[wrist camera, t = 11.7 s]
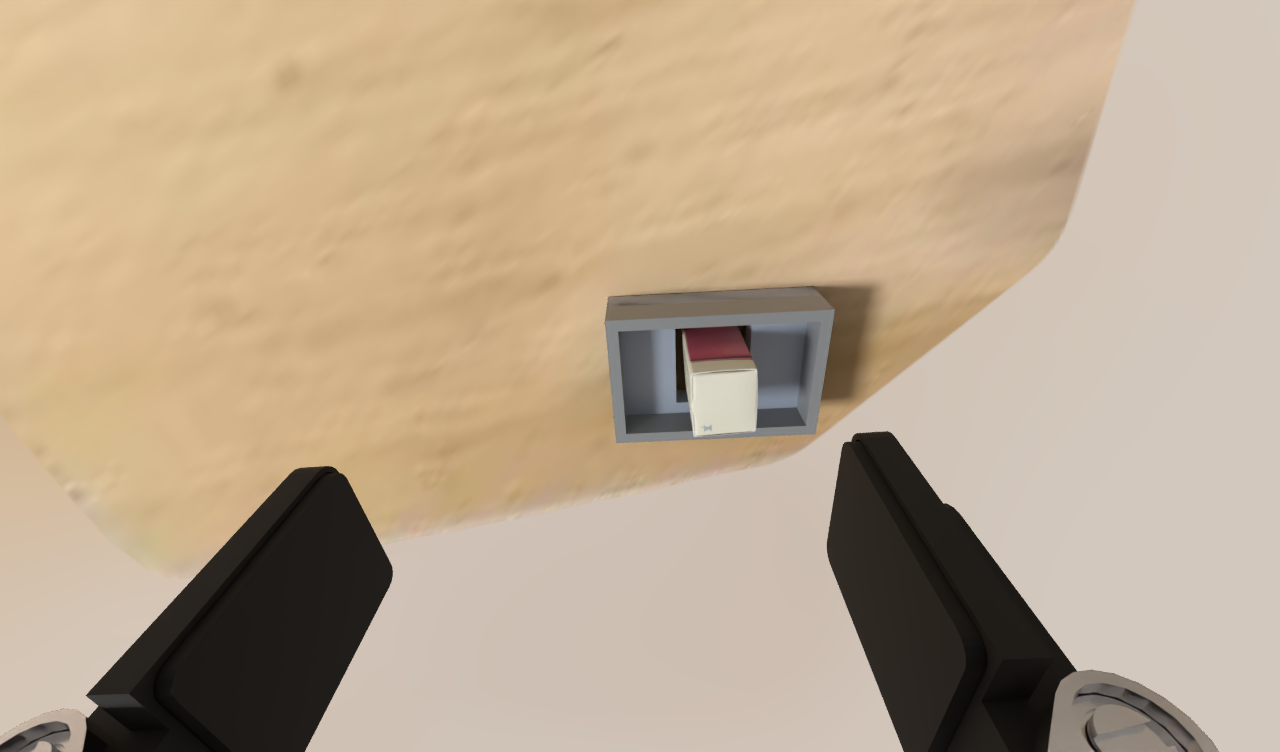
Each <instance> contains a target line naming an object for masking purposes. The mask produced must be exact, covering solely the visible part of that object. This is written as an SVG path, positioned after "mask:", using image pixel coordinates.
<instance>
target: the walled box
mask: <svg viewBox="0 0 1280 752" xmlns="http://www.w3.org/2000/svg"><path fill="white" fill-rule="evenodd" d="M834 313H835V309H834V308H833V307H832V306H831V305H830V304H829V303H828V302H827V301H826V299H825V298H824V297H823V296H822V295H821V294H820V293H819V292H818V291H817V290H816V289H815V288H814V287H793V288H774V289H754V290H734V291H715V292H695V293H675V294H656V295H636V296H616V297H608V303H607V310H606V317H605V327H606V338H607V349H608V359H609V370H610V381H611V391H612V402H613V413H614V423H615V434H616V443H629V442H651V441H673V440H696V439H718V438H740V437H762V436H785V435H807V434H816V428H817V422H818V415H819V409H820V402H821V396H822V390H823V383H824V377H825V371H826V364H827V358H828V351H829V345H830V339H831V332H832V326H833V320H834ZM742 325H746V330H745V343H746V345H747V348H748V350H749V352H750V354H751V357H752V359H753V361H754V363H755V366H756V368H757V376H758V400H757V423H756V431H755V432H747V433H738V434H729V435H718V436H703V437H694V435H693V428H692V422H691V415H690V408H689V402H688V396H687V390H686V389H677V390H676V350H675V329H681V328H701V327H721V326H742Z"/></svg>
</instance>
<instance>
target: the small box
mask: <svg viewBox="0 0 1280 752" xmlns="http://www.w3.org/2000/svg"><path fill="white" fill-rule="evenodd" d="M681 332H682V351H683V364H684V376H685V384H686V390H687V396H688V402H689V408H690V415H691V422H692V428H693V435H694V437H703V436H718V435H729V434H738V433H747V432H755V431H756V423H757V400H758V376H757V368H756V366H755V363H754V361H753V359H752V357H751V354H750V352H749V350H748V348H747V345H746V343H745V341H744V339H743V336H742V334H741V332H740V330H739V328H738V326H721V327H701V328H681Z"/></svg>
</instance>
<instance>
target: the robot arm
mask: <svg viewBox="0 0 1280 752" xmlns="http://www.w3.org/2000/svg"><path fill="white" fill-rule="evenodd" d="M827 553H828V558H829V562H830V565H831V567H832V570H833V572H834V575H835V578H836V580H837V582H838V585H839V587H840V590H841V593H842V595H843V598H844V600H845V603H846V605H847V608H848V611H849V613H850V616H851V618H852V621H853V623H854V626H855V628H856V631H857V634H858V636H859V639H860V641H861V644H862V646H863V648H864V651H865V654H866V656H867V659H868V661H869V664H870V666H871V669H872V672H873V674H874V677H875V679H876V682H877V684H878V687H879V690H880V692H881V695H882V697H883V699H884V702H885V705H886V707H887V710H888V712H889V715H890V718H891V720H892V723H893V725H894V727H895V730H896V733H897V735H898V738H899V740H900V743H901V745H902V748H903V751H904V752H1219V751H1218V749H1217V748H1216V746H1215V745H1214V743H1213V742H1212V740H1211V739H1210V738H1209V737H1208V736H1207V735H1206V734H1205V733H1204V732H1203V731H1202V730H1201V729H1200V728H1199V727H1198V726H1197V724H1196V723H1195V722H1194V721H1193V720H1191V718H1190V717H1188V716H1187V715H1186V714H1185V713H1183V712H1182V711H1181V710H1180V709H1178V708H1177V707H1176V706H1174V705H1173V704H1172V703H1171V702H1169V701H1168V700H1167V699H1165V698H1164V697H1162V696H1160V695H1159V694H1157V693H1155V692H1153V691H1152V690H1150V689H1148V688H1146V687H1145V686H1143V685H1141V684H1139V683H1137V682H1135V681H1132V680H1129V679H1127V678H1124V677H1121V676H1119V675H1116V674H1114V673H1107V672H1102V671H1095V670H1086V671H1078V672H1077V671H1076V669H1075V668H1074V666H1073V665H1072V664H1071V662H1070V661H1069V660H1068V658H1067V657H1066V656H1065V655H1064V653H1063V652H1062V650H1061V649H1060V648H1059V646H1058V645H1057V644H1056V642H1055V641H1054V640H1053V638H1052V637H1051V636H1050V634H1049V633H1048V632H1047V630H1046V629H1045V628H1044V626H1043V625H1042V624H1041V622H1040V621H1039V620H1038V618H1037V617H1036V616H1035V614H1034V613H1033V611H1032V610H1031V609H1030V608H1029V606H1028V605H1027V603H1026V602H1025V601H1024V599H1023V598H1022V597H1021V595H1020V594H1019V593H1018V591H1017V590H1016V589H1015V587H1014V586H1013V585H1012V583H1011V582H1010V581H1009V579H1008V578H1007V577H1006V575H1005V574H1004V573H1003V571H1002V570H1001V568H1000V567H999V566H998V564H997V563H996V562H995V560H994V559H993V558H992V556H991V555H990V554H989V552H988V551H987V550H986V548H985V547H984V546H983V544H982V543H981V542H980V540H979V539H978V538H977V536H976V535H975V534H974V532H973V531H972V530H971V528H970V527H969V526H968V524H967V523H966V522H965V520H964V519H963V517H962V516H961V515H960V514H959V513H958V512H957V511H956V510H955V508H954V507H952V506H950V505H948V504H943V503H942V501H941V500H940V499H939V497H938V496H937V495H936V493H935V492H934V490H933V489H932V487H931V486H930V485H929V483H928V482H927V481H926V479H925V478H924V477H923V475H922V474H921V472H920V471H919V470H918V468H917V467H916V465H915V464H914V463H913V461H912V460H911V458H910V457H909V456H908V455H907V453H906V452H905V450H904V449H903V447H902V446H901V445H900V443H899V442H898V441H897V439H896V438H895V436H894V435H893V434H892V433H890V432H888V431H887V432H872V433H871V432H870V433H857V434H855V435H854V436H853V438H852V441H851V442H845V443H844V444H843V447H842V452H841V458H840V464H839V471H838V477H837V483H836V489H835V496H834V502H833V508H832V514H831V521H830V527H829V533H828V539H827ZM392 576H393V570H392V565H391V563H390V562H389V559H388V557H387V556H386V553H385V552H384V550H383V548H382V546H381V544H380V542H379V540H378V538H377V536H376V534H375V532H374V530H373V528H372V526H371V524H370V522H369V520H368V518H367V517H366V515H365V513H364V511H363V509H362V507H361V505H360V503H359V501H358V499H357V497H356V495H355V493H354V491H353V489H352V487H351V486H350V484H349V482H348V480H347V478H346V477H345V475H343V474H341V473H339V472H338V471H337V470H336V469H335V468H333V467H330V466H323V467H307V468H299V469H296V470H294V471H293V472H292V473H290V475H289V476H288V477H287V478H286V479H285V480H284V481H283V482H282V483H281V484H280V485H279V486H278V488H277V489H276V490H275V491H274V492H273V493H272V494H271V495H270V496H269V497H268V498H267V499H266V501H265V502H264V503H263V504H262V505H261V506H260V507H259V508H258V509H257V510H256V511H255V512H254V514H253V515H252V516H251V517H250V518H249V519H248V520H247V521H246V522H245V523H244V524H243V525H242V527H241V528H240V529H239V530H238V531H237V532H236V533H235V534H234V535H233V536H232V537H231V539H230V540H229V541H228V542H227V543H226V544H225V545H224V546H223V547H222V548H221V549H220V550H219V552H218V553H217V554H216V555H215V556H214V557H213V558H212V559H211V560H210V561H209V562H208V563H207V565H206V566H205V567H204V568H203V569H202V570H201V571H200V572H199V573H198V574H197V575H196V576H195V578H194V579H193V580H192V581H191V582H190V583H189V584H188V585H187V587H185V588H184V589H183V591H182V592H181V593H180V594H179V595H178V596H177V597H176V598H175V599H174V601H173V602H172V603H171V604H170V605H169V606H168V607H167V608H166V609H165V610H164V611H163V612H162V613H161V615H160V616H159V617H158V618H157V619H156V620H155V621H154V622H153V623H152V624H151V625H150V626H149V628H148V629H147V630H146V631H145V632H144V633H143V634H142V635H141V636H140V637H139V638H138V639H137V641H136V642H135V643H134V644H133V645H132V646H131V647H130V648H129V649H128V650H127V651H126V652H125V653H124V655H123V656H122V657H121V658H120V659H119V660H118V661H117V662H116V663H115V664H114V665H113V667H112V668H111V669H110V670H109V671H108V672H107V673H106V674H105V675H104V676H103V677H102V679H101V680H100V681H99V682H98V683H97V684H96V685H95V686H94V687H93V688H92V689H91V690H90V691H89V693H88V694H87V695H86V696H87V697H88V698H89V699H91V700H92V701H93V702H95V703H96V704H97V705H98V707H97V709H96V710H95V711H94V712H93V713H92V714H91V715H90V717H89V718H87V717H86V716H85V715H84V714H82V713H81V712H80V711H78V710H73V709H60V710H56V711H52V712H49V713H44V714H42V715H40V716H38V717H35V718H33V719H31V720H29V721H26V722H24V723H22V724H20V725H19V726H17V727H15V728H14V729H12V730H10V731H8V732H7V733H5V734H4V735H2V736H0V752H305V750H306V748H307V746H308V744H309V742H310V740H311V738H312V736H313V734H314V732H315V730H316V729H317V726H318V725H319V722H320V721H321V719H322V717H323V715H324V713H325V711H326V709H327V707H328V705H329V703H330V701H331V699H332V697H333V695H334V693H335V691H336V689H337V688H338V686H339V684H340V682H341V680H342V678H343V676H344V674H345V672H346V670H347V668H348V666H349V664H350V662H351V660H352V658H353V656H354V654H355V652H356V651H357V649H358V647H359V645H360V643H361V641H362V639H363V637H364V635H365V633H366V631H367V629H368V627H369V625H370V623H371V621H372V619H373V617H374V615H375V614H376V612H377V610H378V607H379V606H380V604H381V602H382V600H383V598H384V596H385V594H386V592H387V590H388V588H389V586H390V583H391V581H392Z"/></svg>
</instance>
